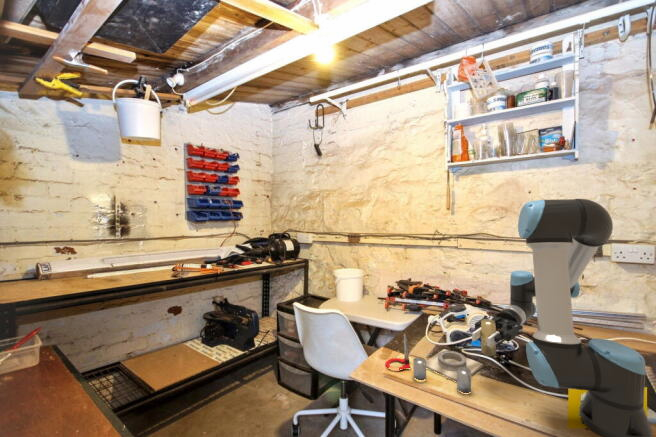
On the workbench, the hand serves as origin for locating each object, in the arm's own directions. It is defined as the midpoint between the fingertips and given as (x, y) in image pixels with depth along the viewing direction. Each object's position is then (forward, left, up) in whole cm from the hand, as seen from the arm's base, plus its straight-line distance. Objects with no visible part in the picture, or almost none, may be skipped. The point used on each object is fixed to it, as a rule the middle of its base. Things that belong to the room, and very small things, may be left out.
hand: (480, 339), depth 106 cm
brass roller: (0, -5, -6) cm, 8 cm away
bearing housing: (+14, -7, -18) cm, 24 cm away
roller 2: (+4, +3, -18) cm, 19 cm away
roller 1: (+18, +8, -18) cm, 27 cm away
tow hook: (+29, +7, -19) cm, 35 cm away
